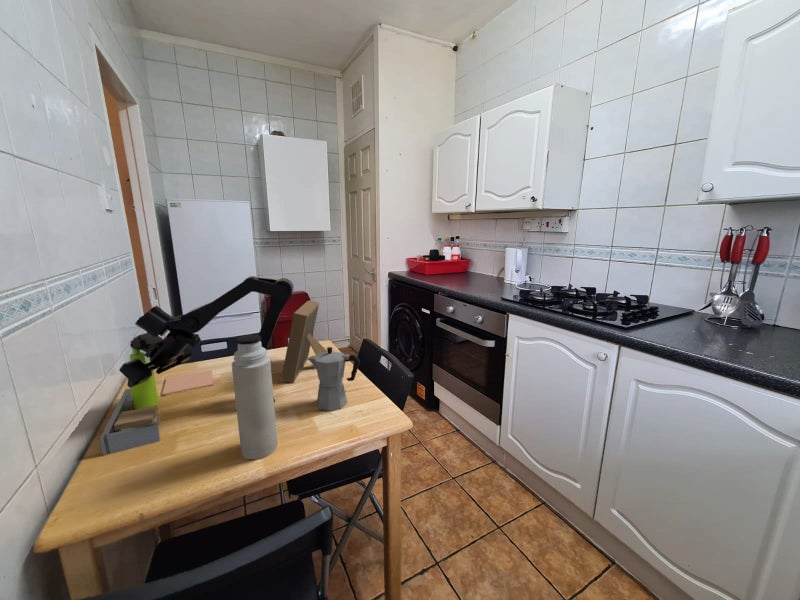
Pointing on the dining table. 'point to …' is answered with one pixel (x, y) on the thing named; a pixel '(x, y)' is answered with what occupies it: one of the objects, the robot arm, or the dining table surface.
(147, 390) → the soap dispenser
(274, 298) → the robot arm
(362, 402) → the dining table surface
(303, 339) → the photo frame
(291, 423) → the dining table surface
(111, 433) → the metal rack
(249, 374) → the thermos bottle
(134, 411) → the walnut offcuts
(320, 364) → the coffeepot
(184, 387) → the terracotta tile
